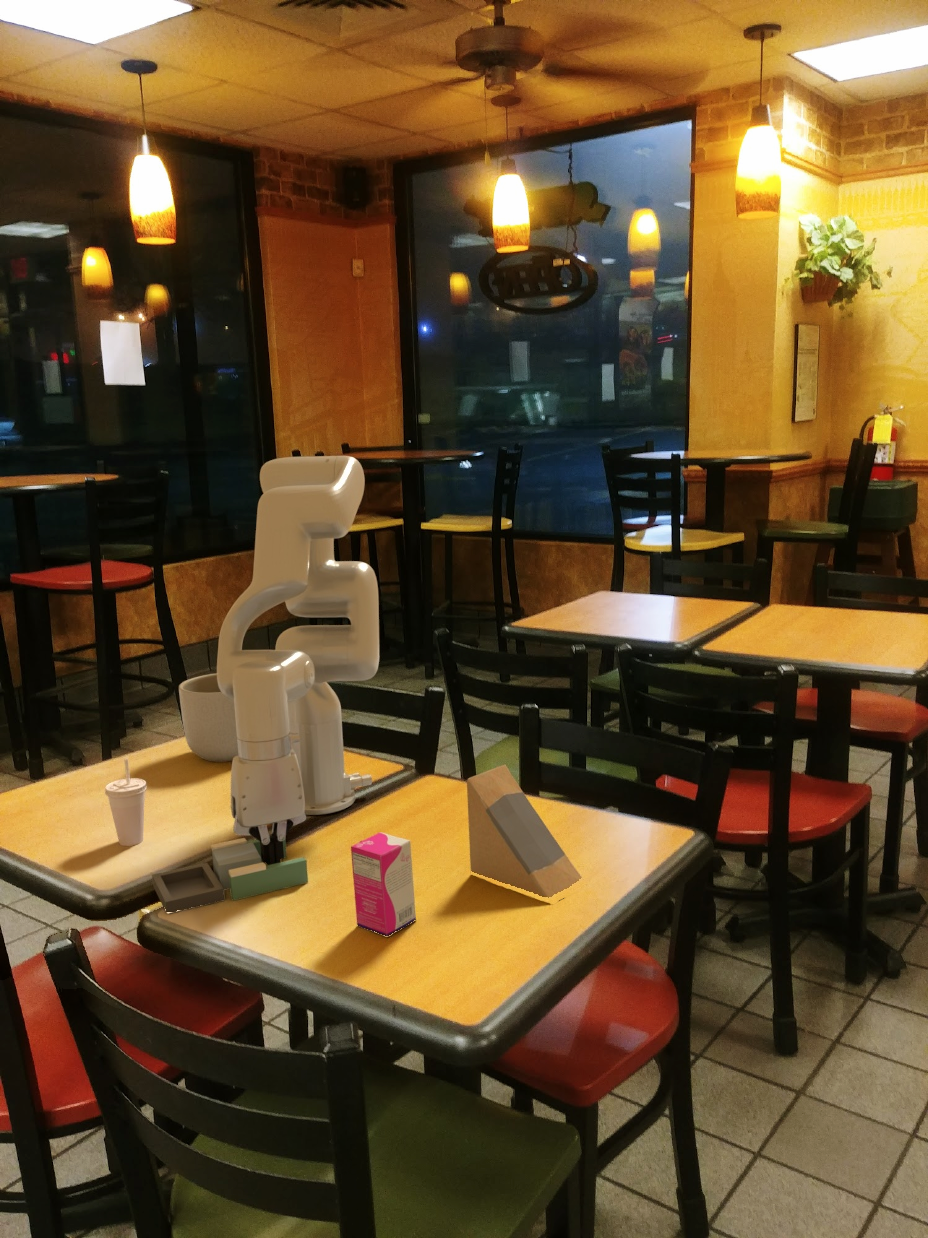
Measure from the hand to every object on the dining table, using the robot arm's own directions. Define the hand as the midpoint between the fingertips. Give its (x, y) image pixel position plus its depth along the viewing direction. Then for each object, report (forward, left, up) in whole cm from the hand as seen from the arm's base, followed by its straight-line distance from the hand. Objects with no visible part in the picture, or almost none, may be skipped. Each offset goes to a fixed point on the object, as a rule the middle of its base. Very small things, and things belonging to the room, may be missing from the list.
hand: (273, 865), depth 152 cm
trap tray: (+13, 0, -1) cm, 13 cm away
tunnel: (+2, 0, -1) cm, 3 cm away
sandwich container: (-31, +21, -2) cm, 38 cm away
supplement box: (-8, +23, -2) cm, 25 cm away
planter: (-8, -60, -2) cm, 61 cm away
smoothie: (+17, -24, -2) cm, 29 cm away
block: (+5, -1, -2) cm, 5 cm away
